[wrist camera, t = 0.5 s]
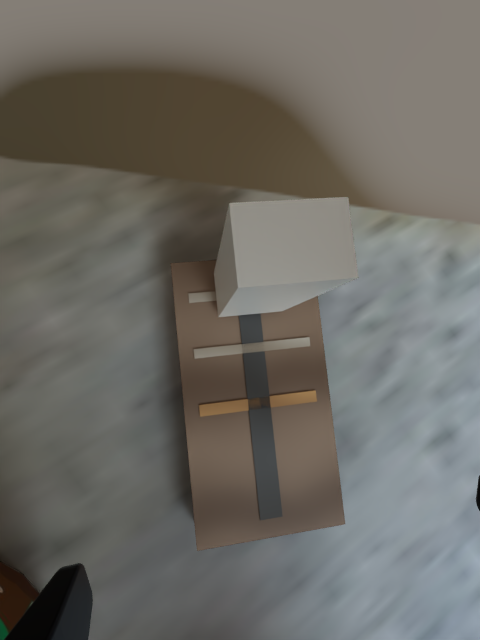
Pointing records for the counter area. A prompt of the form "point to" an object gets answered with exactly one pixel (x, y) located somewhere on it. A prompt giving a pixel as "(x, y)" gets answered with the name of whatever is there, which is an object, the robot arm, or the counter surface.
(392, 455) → the counter surface
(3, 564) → the food container
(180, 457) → the counter surface
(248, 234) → the fader
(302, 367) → the console
